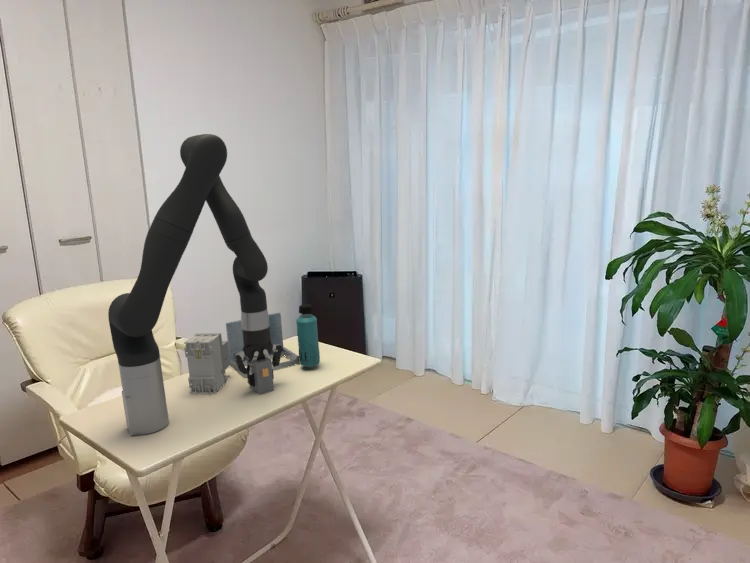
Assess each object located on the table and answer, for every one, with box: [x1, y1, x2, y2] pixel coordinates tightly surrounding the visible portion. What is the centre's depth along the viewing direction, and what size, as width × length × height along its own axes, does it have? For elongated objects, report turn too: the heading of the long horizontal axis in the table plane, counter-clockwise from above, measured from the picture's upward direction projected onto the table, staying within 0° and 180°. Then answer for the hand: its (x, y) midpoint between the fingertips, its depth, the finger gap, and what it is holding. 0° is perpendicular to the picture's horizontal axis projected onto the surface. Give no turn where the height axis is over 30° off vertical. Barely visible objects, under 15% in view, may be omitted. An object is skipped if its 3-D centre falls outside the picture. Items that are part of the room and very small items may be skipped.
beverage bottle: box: [296, 303, 321, 367], centre depth 165 cm, size 6×7×20 cm
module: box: [247, 357, 275, 395], centre depth 152 cm, size 4×8×9 cm, turn 33°
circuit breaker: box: [183, 332, 230, 395], centre depth 157 cm, size 8×14×15 cm, turn 174°
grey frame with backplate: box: [225, 312, 301, 379], centre depth 170 cm, size 18×13×14 cm
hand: (261, 383), depth 153 cm, fingers closed on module, 4 cm apart
